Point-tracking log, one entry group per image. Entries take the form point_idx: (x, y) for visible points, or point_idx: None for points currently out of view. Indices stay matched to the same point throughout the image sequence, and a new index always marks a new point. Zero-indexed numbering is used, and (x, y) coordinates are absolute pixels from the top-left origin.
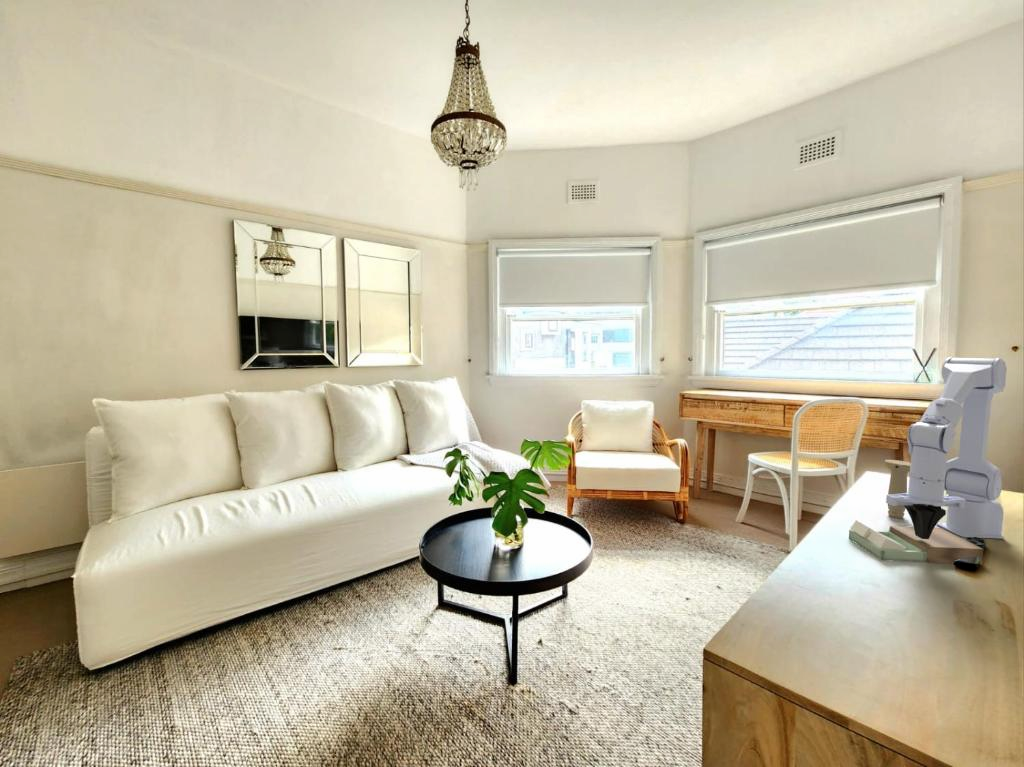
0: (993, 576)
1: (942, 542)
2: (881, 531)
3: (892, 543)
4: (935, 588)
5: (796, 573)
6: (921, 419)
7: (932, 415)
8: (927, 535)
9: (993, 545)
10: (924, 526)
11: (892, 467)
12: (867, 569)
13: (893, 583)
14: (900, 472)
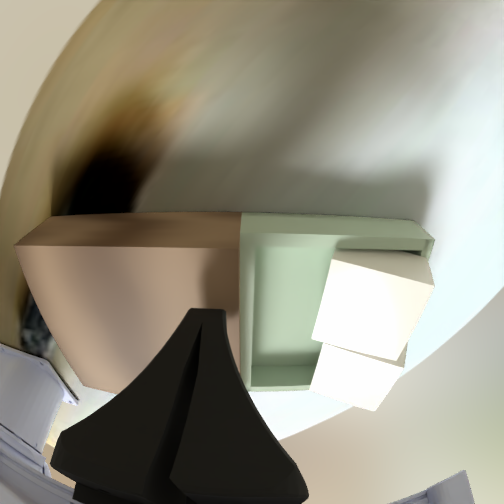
0: (64, 123)
1: (122, 299)
2: (273, 388)
3: (398, 270)
4: (386, 6)
5: None
6: None
7: None
8: (199, 321)
9: (9, 324)
10: (224, 368)
11: None
12: (492, 159)
13: (483, 68)
14: None
